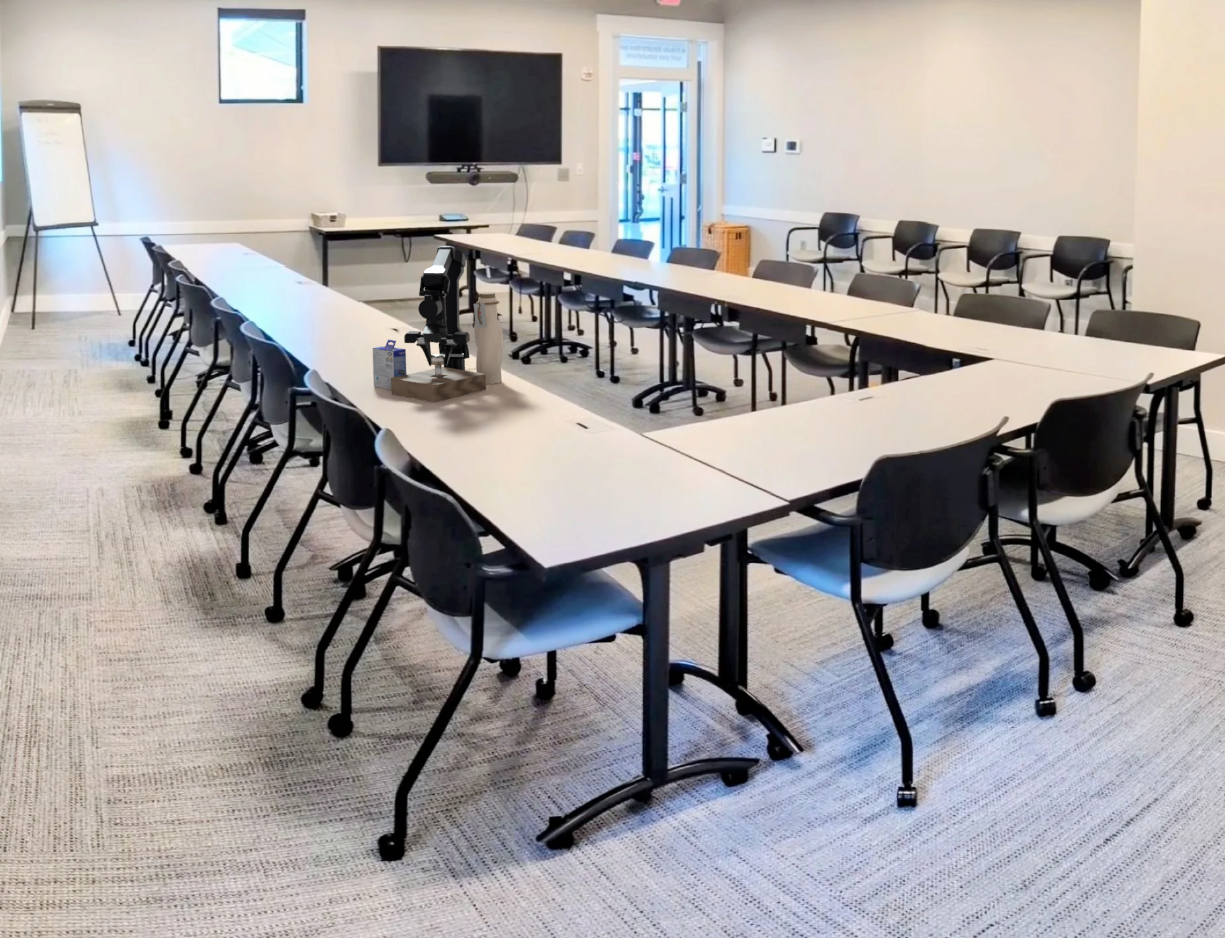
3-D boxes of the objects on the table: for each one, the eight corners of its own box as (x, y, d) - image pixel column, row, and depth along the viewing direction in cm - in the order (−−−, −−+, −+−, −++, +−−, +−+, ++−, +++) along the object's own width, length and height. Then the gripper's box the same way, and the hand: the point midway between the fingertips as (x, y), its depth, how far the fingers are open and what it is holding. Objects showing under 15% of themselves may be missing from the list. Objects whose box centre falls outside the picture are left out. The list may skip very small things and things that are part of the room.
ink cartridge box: (408, 387, 348) (406, 341, 344) (395, 390, 344) (392, 343, 340) (386, 383, 354) (384, 337, 350) (373, 386, 350) (370, 340, 346)
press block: (443, 382, 356) (443, 367, 355) (486, 389, 346) (485, 373, 344) (391, 394, 339) (390, 377, 338) (434, 402, 329) (433, 385, 327)
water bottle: (498, 386, 351) (495, 295, 343) (470, 385, 353) (467, 295, 345) (507, 379, 361) (505, 291, 353) (480, 378, 362) (478, 290, 355)
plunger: (438, 381, 345) (437, 353, 342) (449, 383, 342) (448, 355, 340) (428, 384, 341) (427, 355, 339) (438, 386, 339) (437, 357, 336)
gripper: (398, 317, 329) (401, 370, 333) (461, 318, 328) (463, 371, 332) (407, 312, 339) (410, 363, 344) (469, 313, 338) (470, 364, 343)
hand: (438, 365), depth 340 cm, fingers closed on plunger, 4 cm apart
